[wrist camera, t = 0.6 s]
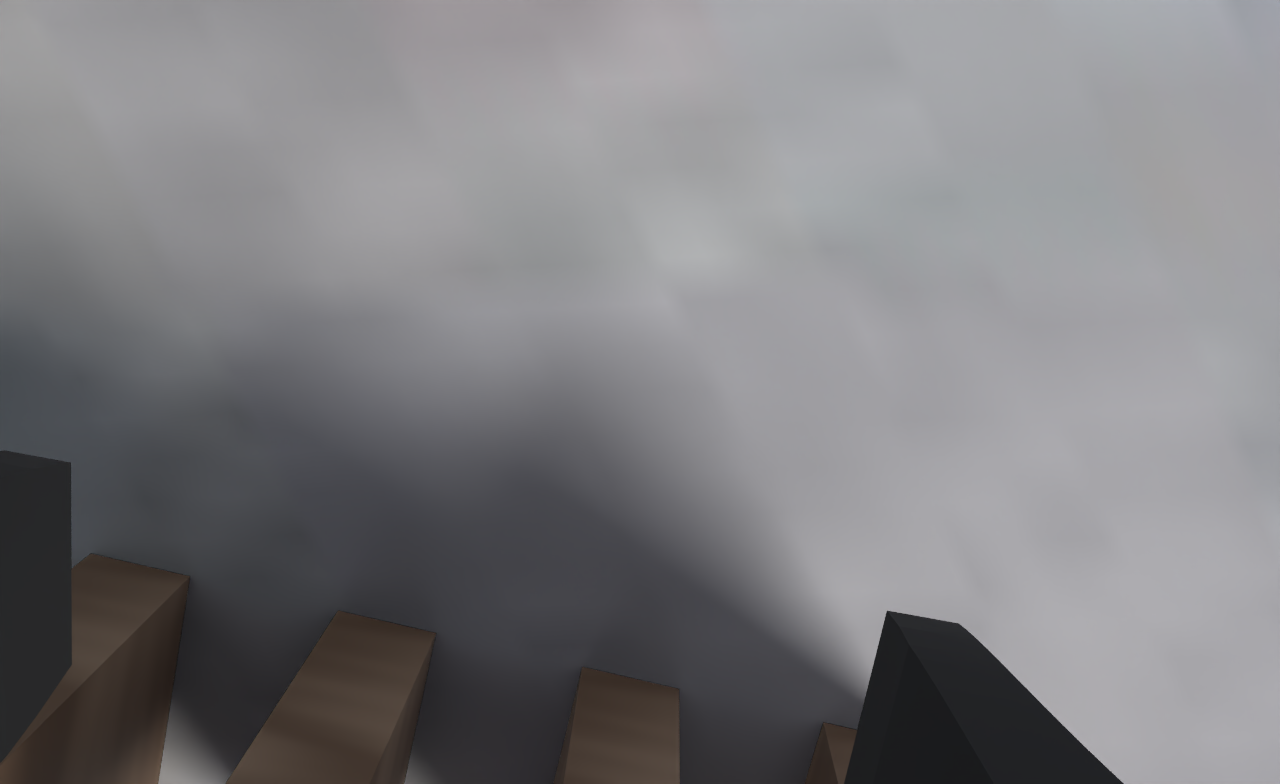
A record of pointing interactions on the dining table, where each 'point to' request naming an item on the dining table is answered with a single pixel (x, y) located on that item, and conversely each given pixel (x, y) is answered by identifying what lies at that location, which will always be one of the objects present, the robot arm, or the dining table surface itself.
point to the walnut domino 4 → (831, 755)
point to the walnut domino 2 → (345, 709)
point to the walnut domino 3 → (621, 732)
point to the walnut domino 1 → (108, 681)
